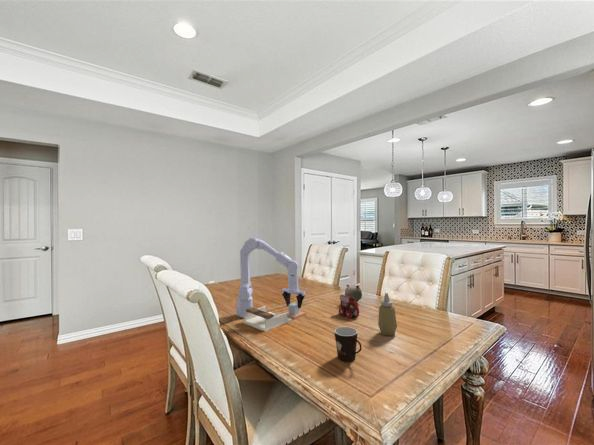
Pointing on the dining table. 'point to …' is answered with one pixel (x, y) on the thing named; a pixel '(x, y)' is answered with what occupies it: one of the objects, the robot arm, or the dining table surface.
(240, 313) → the robot arm
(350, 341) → the coffee mug
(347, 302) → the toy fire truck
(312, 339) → the dining table surface
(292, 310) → the slate block
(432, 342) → the dining table surface
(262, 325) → the puzzle board
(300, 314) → the salmon pink tile
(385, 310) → the squeeze bottle
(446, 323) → the dining table surface
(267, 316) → the sliding bar
